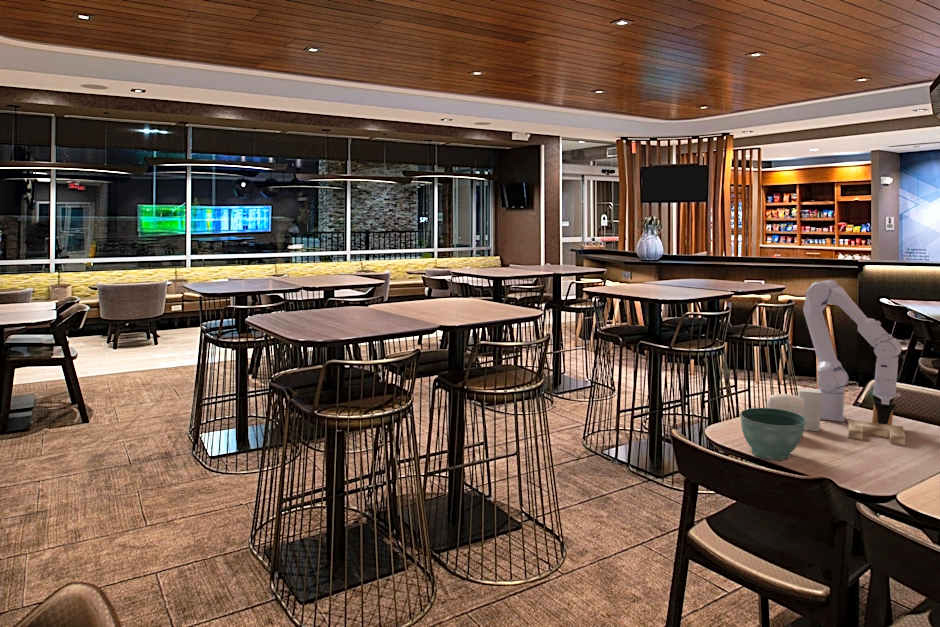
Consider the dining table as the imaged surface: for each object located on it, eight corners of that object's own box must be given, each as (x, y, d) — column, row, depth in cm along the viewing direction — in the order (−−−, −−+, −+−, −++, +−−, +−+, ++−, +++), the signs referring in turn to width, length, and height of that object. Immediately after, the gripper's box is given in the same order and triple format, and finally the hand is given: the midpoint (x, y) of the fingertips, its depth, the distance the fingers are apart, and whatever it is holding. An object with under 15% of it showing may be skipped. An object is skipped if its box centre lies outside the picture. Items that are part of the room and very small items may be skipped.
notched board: (848, 438, 202) (849, 429, 201) (848, 427, 211) (848, 419, 211) (904, 445, 195) (905, 436, 195) (901, 434, 205) (902, 426, 205)
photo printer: (801, 434, 205) (804, 393, 204) (803, 438, 201) (806, 397, 200) (763, 431, 208) (766, 391, 207) (765, 435, 204) (767, 394, 203)
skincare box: (817, 427, 212) (820, 389, 210) (819, 431, 208) (822, 392, 206) (795, 425, 214) (798, 387, 212) (797, 429, 210) (799, 391, 208)
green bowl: (803, 469, 178) (806, 428, 176) (736, 459, 184) (738, 420, 183) (802, 449, 192) (805, 411, 191) (740, 441, 199) (742, 405, 197)
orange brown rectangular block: (872, 428, 211) (874, 406, 210) (871, 425, 214) (873, 403, 213) (891, 430, 209) (893, 408, 208) (890, 427, 211) (892, 405, 210)
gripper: (903, 385, 201) (899, 430, 203) (899, 374, 213) (895, 417, 215) (875, 382, 204) (871, 426, 206) (872, 372, 217) (869, 414, 219)
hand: (881, 421), depth 211 cm, fingers open, 6 cm apart
